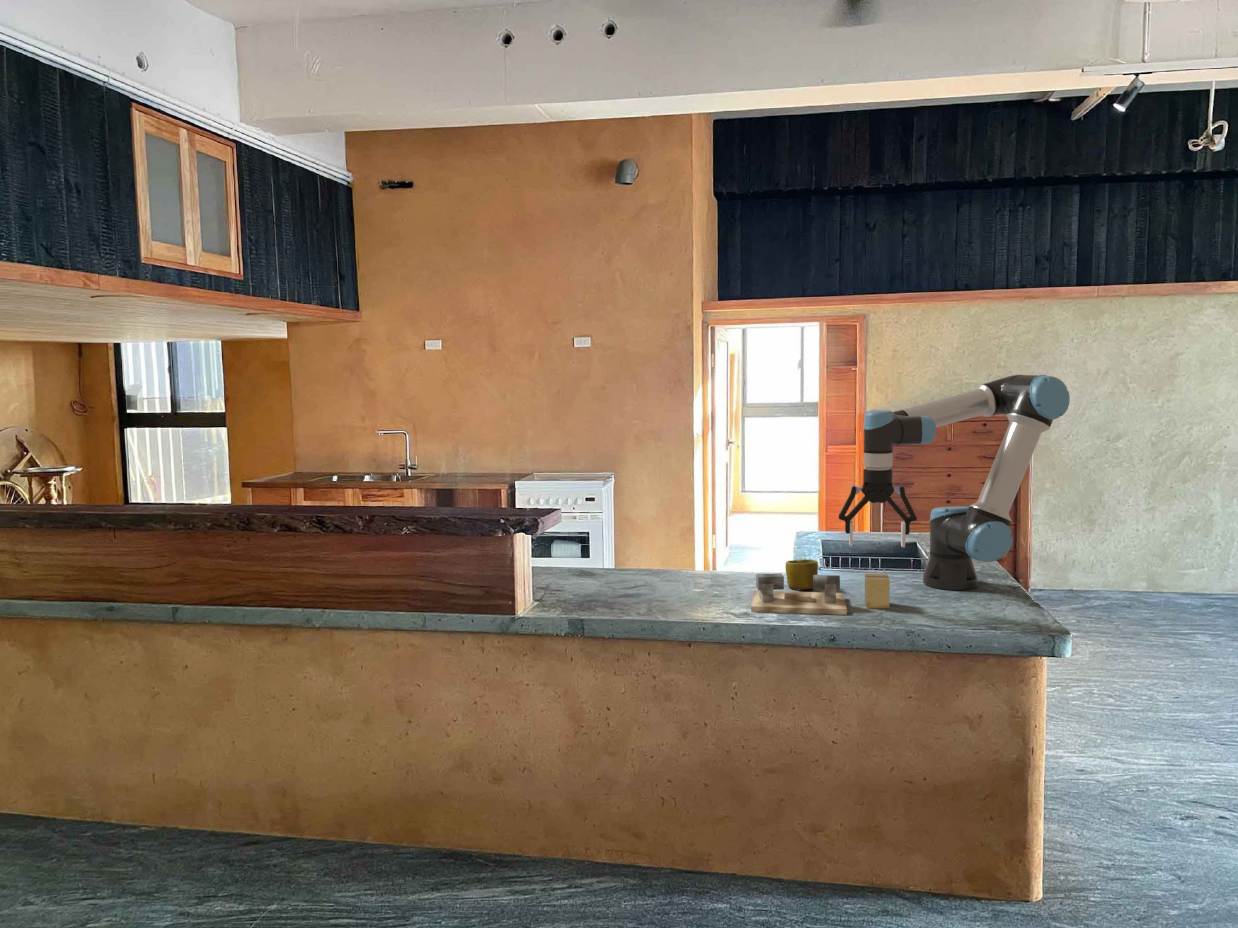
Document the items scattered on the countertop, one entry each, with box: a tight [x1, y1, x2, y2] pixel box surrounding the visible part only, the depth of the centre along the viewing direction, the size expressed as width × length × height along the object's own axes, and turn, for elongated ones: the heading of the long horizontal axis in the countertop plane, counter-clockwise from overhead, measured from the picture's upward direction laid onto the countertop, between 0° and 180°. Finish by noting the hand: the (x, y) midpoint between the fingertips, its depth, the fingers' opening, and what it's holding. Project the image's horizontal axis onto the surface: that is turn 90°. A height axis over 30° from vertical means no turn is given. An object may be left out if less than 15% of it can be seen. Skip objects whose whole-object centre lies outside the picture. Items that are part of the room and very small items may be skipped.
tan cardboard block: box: [864, 573, 891, 609], centre depth 244 cm, size 6×6×8 cm
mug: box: [785, 558, 819, 591], centre depth 265 cm, size 12×10×10 cm
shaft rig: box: [750, 572, 848, 616], centre depth 246 cm, size 25×16×8 cm, turn 79°
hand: (876, 545), depth 243 cm, fingers open, 13 cm apart
